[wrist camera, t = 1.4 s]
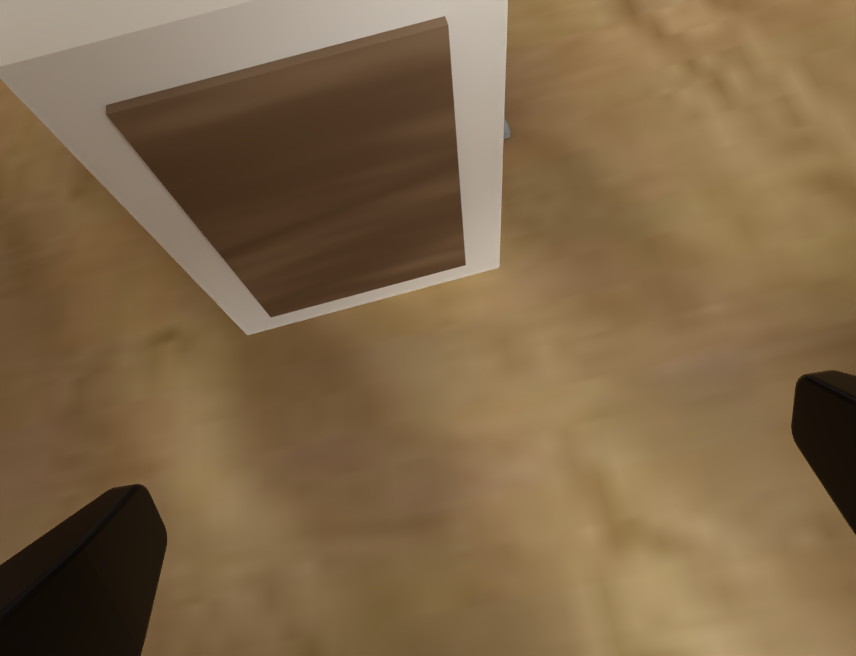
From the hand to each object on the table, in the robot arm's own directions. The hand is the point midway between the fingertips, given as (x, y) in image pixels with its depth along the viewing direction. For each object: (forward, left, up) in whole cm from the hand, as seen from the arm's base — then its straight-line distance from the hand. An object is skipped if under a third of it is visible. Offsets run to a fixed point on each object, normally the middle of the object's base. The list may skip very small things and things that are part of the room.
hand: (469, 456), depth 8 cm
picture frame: (+2, +13, -14) cm, 19 cm away
